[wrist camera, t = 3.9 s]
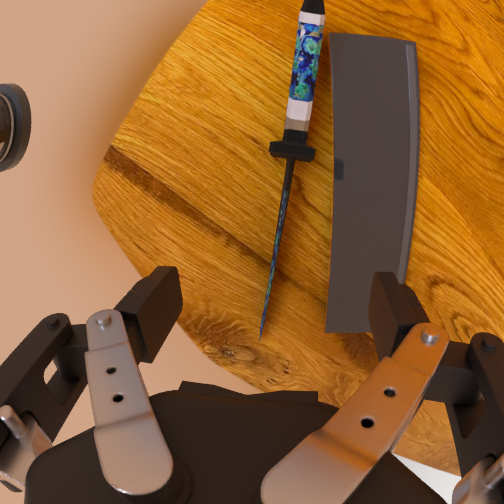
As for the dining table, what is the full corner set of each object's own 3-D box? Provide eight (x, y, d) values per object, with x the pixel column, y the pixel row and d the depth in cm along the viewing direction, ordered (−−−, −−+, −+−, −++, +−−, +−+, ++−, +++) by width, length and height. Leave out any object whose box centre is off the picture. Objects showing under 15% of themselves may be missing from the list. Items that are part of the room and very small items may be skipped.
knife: (302, 5, 18) (301, -12, 14) (342, 14, 18) (348, -1, 14) (238, 318, 34) (229, 348, 30) (266, 325, 33) (260, 355, 30)
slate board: (323, 323, 30) (324, 333, 29) (326, 37, 20) (328, 32, 18) (391, 322, 29) (394, 332, 28) (409, 45, 19) (416, 41, 17)
